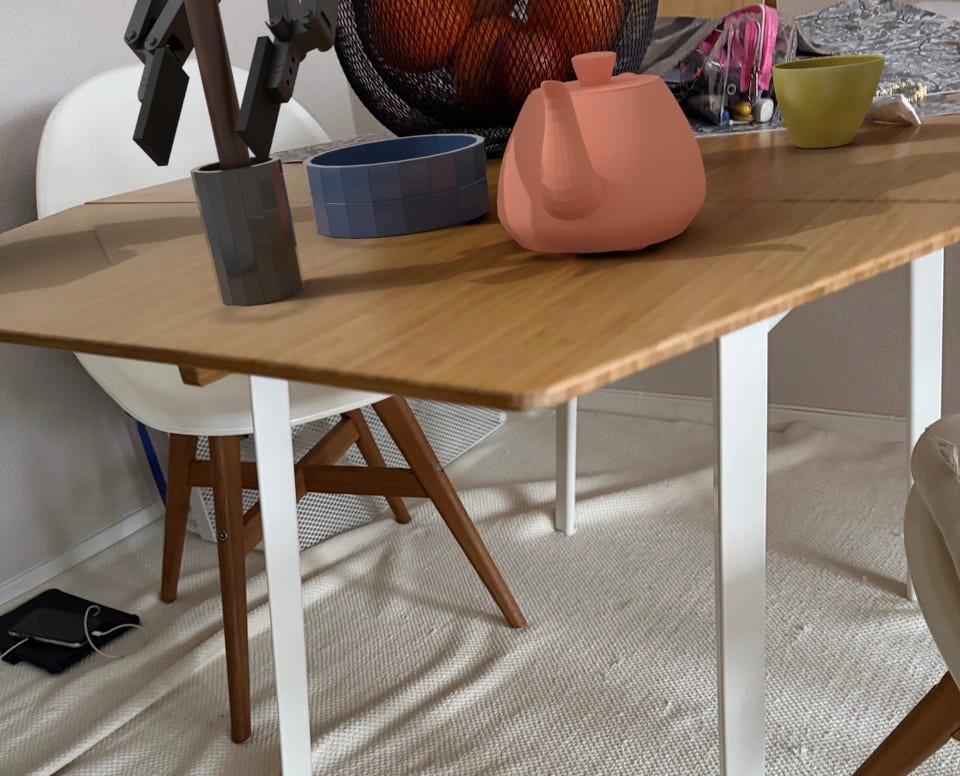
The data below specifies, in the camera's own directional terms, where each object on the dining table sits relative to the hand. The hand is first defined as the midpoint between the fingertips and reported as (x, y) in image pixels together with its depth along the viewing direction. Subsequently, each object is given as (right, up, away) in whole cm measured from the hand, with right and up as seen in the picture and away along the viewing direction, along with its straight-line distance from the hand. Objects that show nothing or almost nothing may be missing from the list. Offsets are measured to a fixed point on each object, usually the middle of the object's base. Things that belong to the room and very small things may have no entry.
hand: (200, 148), depth 68 cm
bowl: (+11, +6, +27) cm, 29 cm away
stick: (+2, -6, +8) cm, 11 cm away
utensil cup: (+2, -7, +8) cm, 11 cm away
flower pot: (+51, +17, +38) cm, 66 cm away
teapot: (+26, -1, +13) cm, 29 cm away
